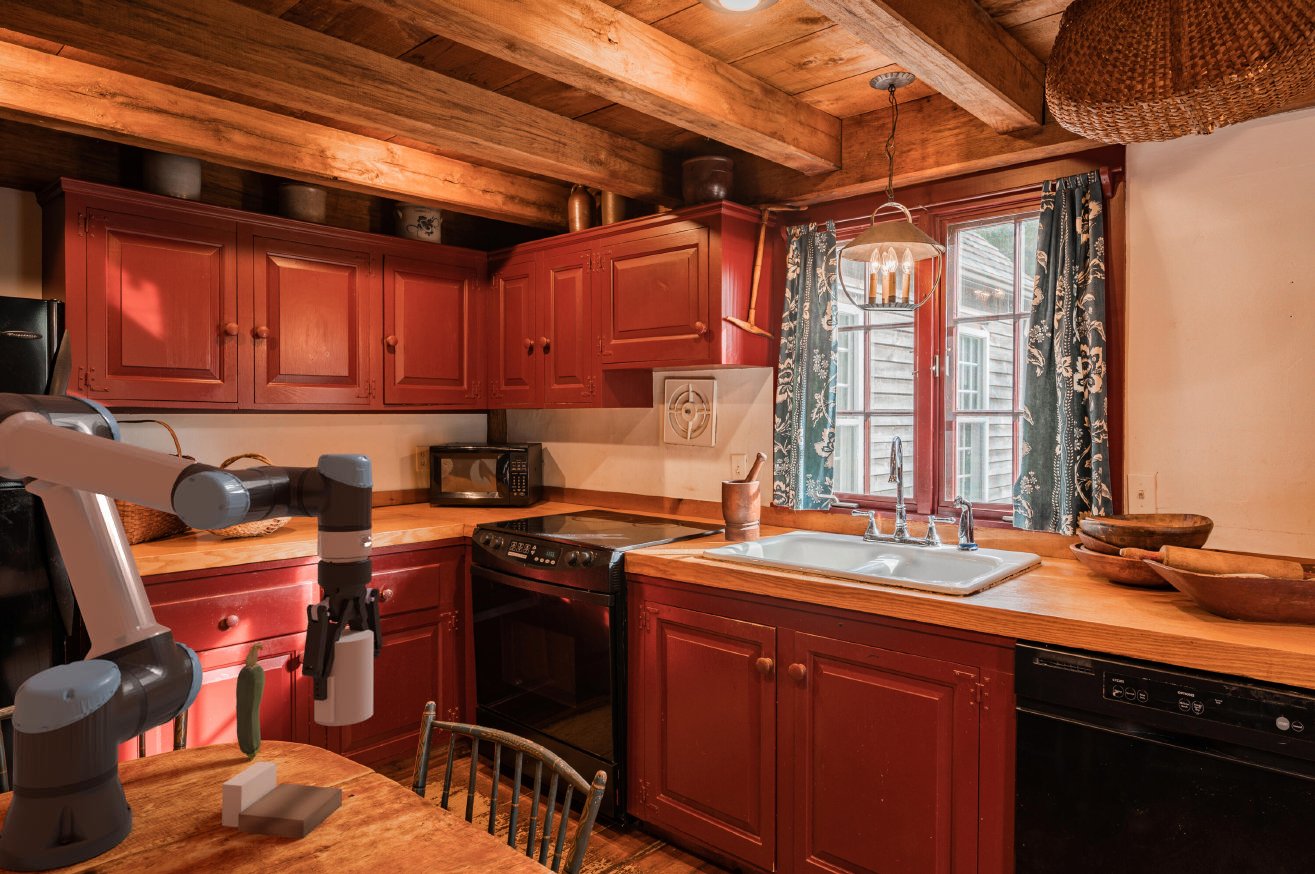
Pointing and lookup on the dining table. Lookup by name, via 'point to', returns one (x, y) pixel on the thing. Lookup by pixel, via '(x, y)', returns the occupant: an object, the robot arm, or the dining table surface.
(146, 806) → the dining table surface
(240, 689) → the vegetable
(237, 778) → the block
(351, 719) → the grey cylinder
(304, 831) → the board
